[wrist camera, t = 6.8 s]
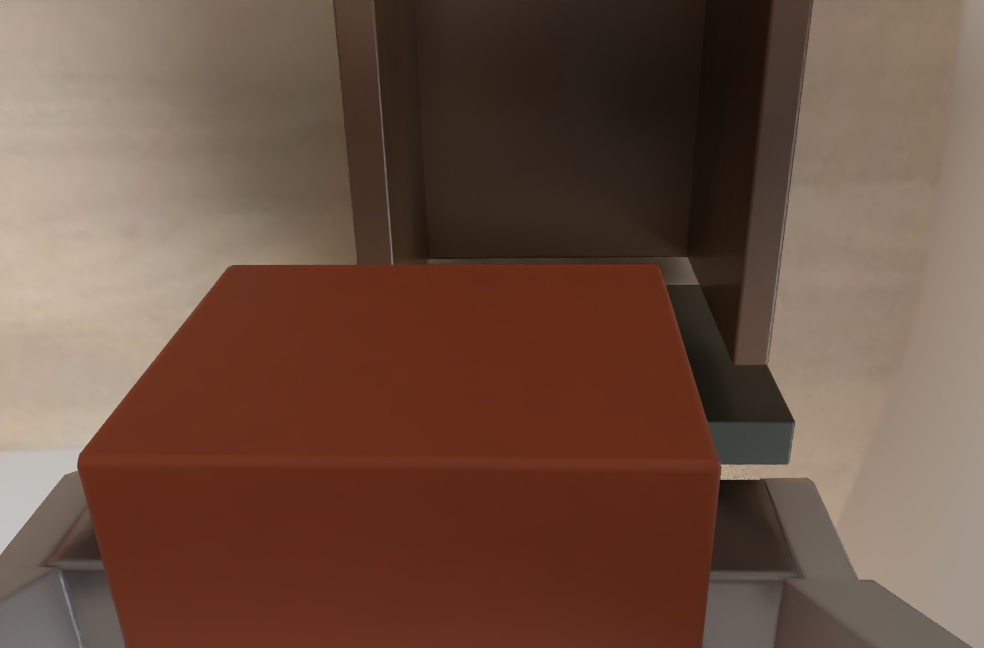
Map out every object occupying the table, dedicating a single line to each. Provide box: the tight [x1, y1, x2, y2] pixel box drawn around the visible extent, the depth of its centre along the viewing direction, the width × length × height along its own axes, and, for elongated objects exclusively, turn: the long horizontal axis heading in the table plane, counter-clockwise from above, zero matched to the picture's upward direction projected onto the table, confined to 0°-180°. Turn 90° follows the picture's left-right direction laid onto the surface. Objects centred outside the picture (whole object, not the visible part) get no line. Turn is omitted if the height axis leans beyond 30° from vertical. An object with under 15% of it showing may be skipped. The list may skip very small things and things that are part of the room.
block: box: [77, 264, 721, 648], centre depth 10 cm, size 5×5×4 cm
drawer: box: [333, 0, 813, 464], centre depth 23 cm, size 18×10×8 cm, turn 1°
